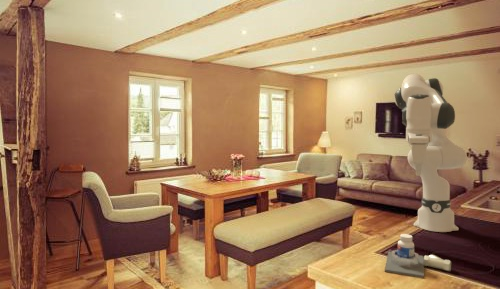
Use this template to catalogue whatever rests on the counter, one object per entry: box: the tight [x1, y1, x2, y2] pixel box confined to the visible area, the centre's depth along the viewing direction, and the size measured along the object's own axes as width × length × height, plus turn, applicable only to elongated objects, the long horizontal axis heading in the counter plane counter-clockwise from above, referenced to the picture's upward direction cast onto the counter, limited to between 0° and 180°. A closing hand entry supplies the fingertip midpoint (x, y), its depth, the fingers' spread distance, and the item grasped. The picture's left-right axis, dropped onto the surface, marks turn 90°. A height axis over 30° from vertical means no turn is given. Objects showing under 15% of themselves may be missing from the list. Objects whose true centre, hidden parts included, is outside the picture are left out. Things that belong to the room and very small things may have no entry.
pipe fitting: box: [423, 254, 452, 273], centre depth 121 cm, size 8×4×7 cm
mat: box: [384, 251, 425, 279], centre depth 123 cm, size 18×12×1 cm, turn 154°
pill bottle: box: [397, 233, 415, 258], centre depth 123 cm, size 6×5×10 cm
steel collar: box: [391, 249, 419, 268], centre depth 123 cm, size 9×9×3 cm
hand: (418, 173), depth 131 cm, fingers open, 8 cm apart
